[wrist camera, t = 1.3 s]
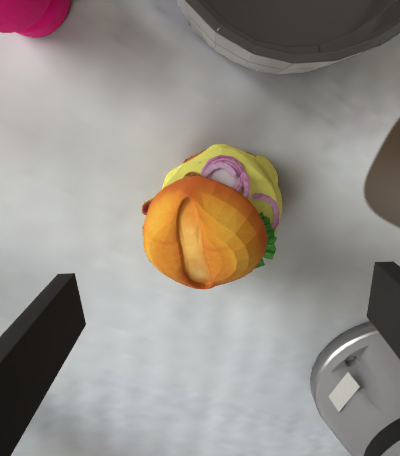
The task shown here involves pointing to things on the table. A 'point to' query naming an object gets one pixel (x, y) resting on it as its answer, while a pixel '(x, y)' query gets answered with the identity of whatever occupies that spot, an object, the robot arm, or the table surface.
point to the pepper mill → (32, 16)
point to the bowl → (292, 30)
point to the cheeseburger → (213, 217)
